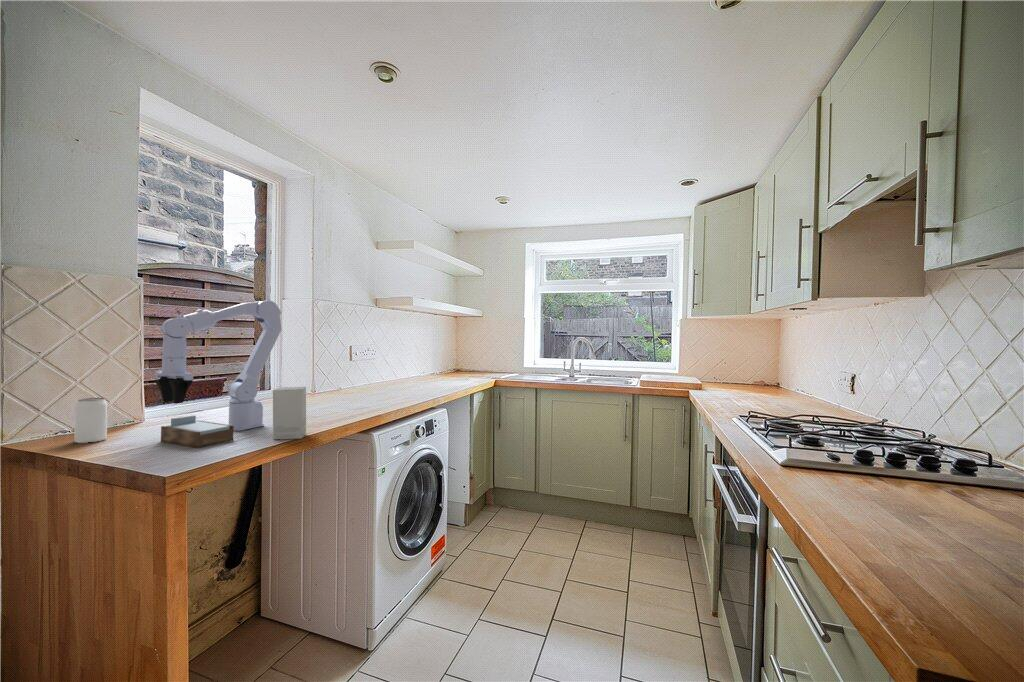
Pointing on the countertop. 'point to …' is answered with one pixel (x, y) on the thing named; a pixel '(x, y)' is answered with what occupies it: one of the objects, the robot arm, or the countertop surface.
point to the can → (90, 420)
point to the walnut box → (195, 436)
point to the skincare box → (289, 412)
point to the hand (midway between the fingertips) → (173, 402)
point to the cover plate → (196, 425)
